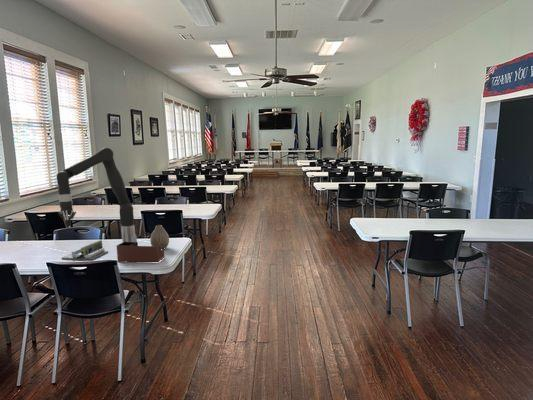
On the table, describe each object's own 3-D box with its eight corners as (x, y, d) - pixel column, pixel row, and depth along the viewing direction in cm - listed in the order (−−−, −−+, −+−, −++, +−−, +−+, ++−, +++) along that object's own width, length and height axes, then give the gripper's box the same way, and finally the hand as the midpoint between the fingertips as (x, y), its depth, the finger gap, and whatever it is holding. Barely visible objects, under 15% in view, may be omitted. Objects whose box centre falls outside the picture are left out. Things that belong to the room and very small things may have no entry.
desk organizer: (125, 257, 245) (123, 241, 243) (165, 258, 241) (164, 242, 239) (116, 262, 235) (115, 245, 233) (158, 263, 230) (157, 246, 229)
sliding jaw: (95, 250, 256) (95, 245, 256) (80, 257, 241) (80, 251, 240) (87, 250, 257) (87, 245, 257) (72, 257, 242) (71, 251, 241)
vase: (158, 252, 253) (156, 228, 250) (147, 249, 261) (145, 226, 258) (173, 248, 263) (171, 225, 261) (162, 245, 271) (160, 223, 269)
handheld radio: (103, 249, 260) (79, 259, 236) (99, 249, 261) (75, 259, 237) (102, 240, 259) (78, 250, 235) (98, 240, 260) (74, 250, 236)
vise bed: (108, 252, 256) (107, 247, 255) (92, 260, 238) (91, 255, 238) (79, 251, 260) (79, 246, 259) (61, 259, 242) (61, 254, 242)
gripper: (78, 199, 247) (80, 224, 250) (60, 199, 249) (63, 224, 252) (70, 201, 240) (73, 226, 243) (52, 201, 242) (56, 226, 245)
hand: (68, 225), depth 247 cm, fingers closed
